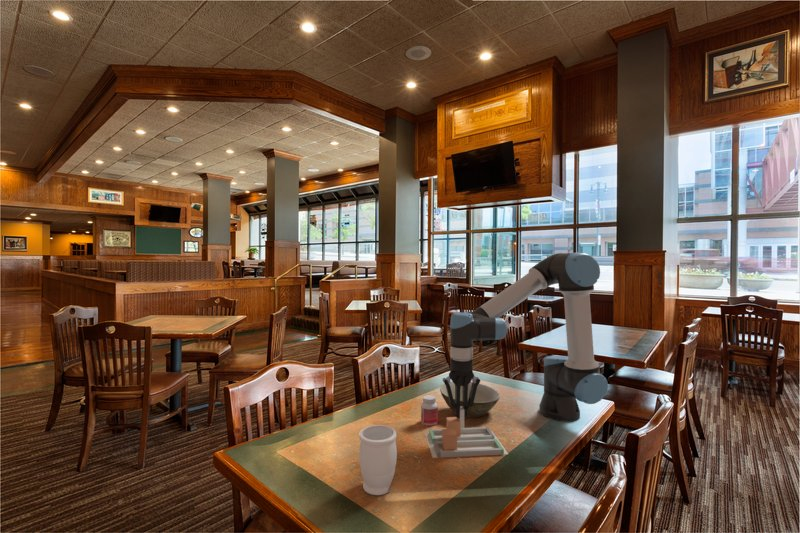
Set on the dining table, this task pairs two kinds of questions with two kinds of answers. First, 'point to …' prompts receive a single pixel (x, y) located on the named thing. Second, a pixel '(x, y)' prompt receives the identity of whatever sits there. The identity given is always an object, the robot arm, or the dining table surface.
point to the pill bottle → (429, 411)
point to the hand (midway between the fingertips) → (461, 426)
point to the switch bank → (466, 443)
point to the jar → (377, 458)
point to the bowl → (482, 401)
